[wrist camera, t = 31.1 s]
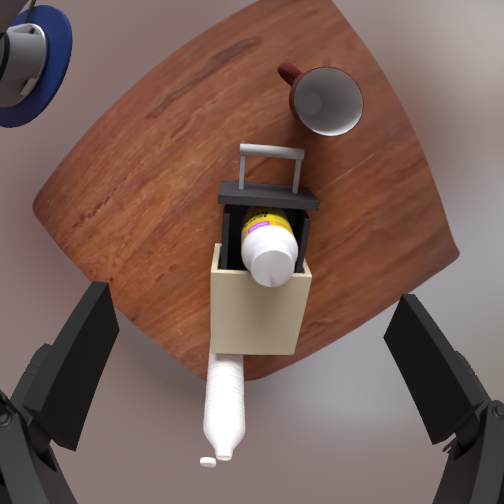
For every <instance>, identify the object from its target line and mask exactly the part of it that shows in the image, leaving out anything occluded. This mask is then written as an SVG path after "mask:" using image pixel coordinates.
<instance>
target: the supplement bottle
mask: <svg viewBox="0 0 504 504" xmlns="http://www.w3.org/2000/svg"><path fill="white" fill-rule="evenodd" d="M241 255H242V260H243V263H244V265H245V266H246V268H247V269H248V270H249V271H250V272H251V274H252V277H253V278H254V280H255V281H256V282H258V283H259V284H261V285H263V286H266V287H277V286H280V285H282V284H284V283H286V282H287V281H288V280H289V279H290V278H291V277H292V275H293V272H294V264H295V262H296V260H297V256H298V246H297V243H296V240H295V237H294V235H293V232H292V229H291V227H290V224H289V221H288V219H287V216H286V214H285V213H284V211H283V210H282V209H281V208H278V207H264V206H252V207H250V208H249V209H248V210H247V211H246V213H245V214H244V216H243V219H242V228H241Z"/></svg>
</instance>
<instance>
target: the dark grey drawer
mask: <svg viewBox="0 0 504 504" xmlns="http://www.w3.org/2000/svg"><path fill="white" fill-rule="evenodd" d="M239 154H240V155H241V161H240V175H239V182H233V181H222V182H221V186H220V190H219V194H218V204H225V206H224V212H223V231H222V257H221V270H236V271H249V270H248V269H247V268H246V266H245V265H244V263H243V260H242V255H241V228H242V219H243V216H244V214H245V213H246V211H247V210H248V209H249V208H250V207H252V206H264V207H278V208H281V209H282V210H283V211H284V213H285V214H286V216H287V219H288V221H289V224H290V227H291V229H292V232H293V235H294V237H295V240H296V243H297V246H298V256H297V260H296V262H295V264H294V272H293V273H301V272H302V267H303V262H304V256H305V251H306V245H307V240H308V234H309V228H310V222H311V219H310V217H309V216H308V214H307V212H306V211H305V210H315V211H318V210H319V204H320V202H319V200H318V199H317V198H316V197H315V195H314V194H313V193H312V192H311V191H310V189H309V188H308V187H299V186H298V183H299V176H300V168H301V160H303V159H304V150H303V149H296V148H287V147H277V146H266V145H254V144H240V153H239ZM246 155H253V156H266V157H277V158H288V159H296V165H295V173H294V181H293V186H288V185H276V184H263V183H249V182H244V173H245V160H246Z"/></svg>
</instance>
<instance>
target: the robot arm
mask: <svg viewBox="0 0 504 504" xmlns="http://www.w3.org/2000/svg"><path fill="white" fill-rule="evenodd" d="M28 1H29V0H0V107H13V106H16V105H19V104H21V103H22V102H24V101H25V100H26V99H28V98H29V97H30V96H31V94H32V93H33V92H34V91H35V89H36V88H37V87H38V85H39V83H40V81H41V80H42V78H43V75H44V73H45V71H46V68H47V64H48V60H49V55H50V41H49V36H48V34H47V32H46V30H45V29H44V28H43V27H41V26H39V25H35V24H30V23H27V21H28V19H29V16H30V14H31V11H32V9H33V7H34V4H35V2H36V0H32V2H31V4H30V6H29V9H28V11H27V13H26V16H25V18H24V21H23V23H22V24H21V25H17V26H13V27H10V25H11V24H12V22H13V21H14V19H15V18H16V17H17V15H18V14H19V13H20V11H21V10H22V9H23V7H24V6H25V5H26V3H27V2H28ZM118 333H119V327H118V323H117V319H116V315H115V311H114V307H113V303H112V298H111V294H110V289H109V285H108V283H106V282H96V281H93V282H92V283H91V285H90V287H89V288H88V289H87V291H86V292H85V294H84V295H83V297H82V298H81V300H80V301H79V303H78V304H77V306H76V308H75V309H74V310H73V312H72V314H71V315H70V317H69V318H68V320H67V322H66V324H65V325H64V327H63V328H62V330H61V332H60V333H59V335H58V336H57V338H56V340H55V342H54V343H53V345H49V344H44V345H43V346H42V347H40V348H39V349H38V350H37V351H36V352H35V354H34V356H33V357H32V359H31V361H30V364H28V366H27V368H26V372H24V373H23V375H22V377H21V379H20V381H19V383H18V384H17V387H16V389H15V390H14V392H13V394H12V396H11V398H10V400H9V399H8V398H7V397H6V395H5V394H4V393H3V392H2V391H1V390H0V504H78V503H77V501H76V500H75V498H74V496H73V494H72V492H71V490H70V488H69V486H68V484H67V482H66V480H65V478H64V476H63V473H62V471H61V469H60V467H59V464H58V462H57V460H56V458H55V455H54V452H53V450H52V448H51V446H50V445H49V444H50V441H51V439H52V440H53V441H54V442H55V443H56V444H57V445H59V446H61V447H64V448H67V449H70V450H73V451H76V448H77V445H78V441H79V438H80V435H81V431H82V429H83V426H84V422H85V419H86V416H87V413H88V410H89V407H90V405H91V402H92V399H93V396H94V393H95V391H96V388H97V385H98V383H99V380H100V377H101V375H102V372H103V369H104V367H105V364H106V362H107V359H108V357H109V354H110V352H111V349H112V347H113V345H114V342H115V340H116V338H117V335H118ZM383 338H384V340H385V342H386V344H387V346H388V348H389V350H390V352H391V354H392V356H393V358H394V360H395V362H396V364H397V366H398V368H399V370H400V372H401V374H402V376H403V378H404V380H405V382H406V384H407V387H408V389H409V391H410V393H411V395H412V397H413V400H414V402H415V404H416V406H417V409H418V411H419V413H420V416H421V418H422V420H423V422H424V425H425V427H426V430H427V432H428V434H429V437H430V439H431V442H432V444H433V445H434V444H437V443H440V442H442V441H445V440H446V439H448V438H449V437H450V436H451V435H452V434H453V433H454V432H455V434H456V437H455V438H454V439H453V440H452V441H451V442H450V443H449V444H448V445H446V446H445V447H444V449H443V452H445V451H446V450H447V449H448V448H449V447H451V449H450V450H449V451H448V452H447V453H449V456H448V460H447V463H446V466H445V470H444V473H443V476H442V479H441V482H440V485H439V487H438V490H437V493H436V496H435V498H434V501H433V503H432V504H504V404H503V403H502V402H500V401H498V400H494V401H491V399H490V398H489V396H488V394H487V392H486V391H485V389H484V388H483V386H482V384H481V382H480V381H479V379H478V377H477V376H476V375H475V372H474V371H473V369H472V368H471V366H470V365H469V363H468V361H467V360H466V359H465V357H463V356H462V355H461V354H460V353H459V352H458V351H454V349H453V348H452V346H451V345H450V343H449V342H448V340H447V339H446V337H445V336H444V334H443V333H442V332H441V330H440V329H439V327H438V326H437V324H436V323H435V322H434V320H433V319H432V317H431V316H430V315H429V313H428V312H427V310H426V309H425V308H424V306H423V305H422V304H421V302H420V301H419V300H418V298H417V297H416V296H415V295H414V294H402V296H401V298H400V301H399V303H398V305H397V308H396V310H395V312H394V315H393V317H392V319H391V322H390V324H389V326H388V328H387V331H386V333H385V335H384V337H383Z"/></svg>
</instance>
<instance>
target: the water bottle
mask: <svg viewBox="0 0 504 504" xmlns="http://www.w3.org/2000/svg"><path fill="white" fill-rule="evenodd" d="M243 374H244V371H243V354H224V353H211V341H210V352H209V361H208V374H207V385H206V402H205V415H204V424H203V429H204V434H205V436H206V438H207V439H208V440H209V442H210V443H211V445H212V446H213V447H214V448H215V450H216V451H215V454H216V458H217V459H219V460H230V459H231V458H232V455H233V452H232V451H233V449H234V448H235V447H236V446H237V445H238V443H239V442H240V441H241V440H242V438H243V437H244V434H245V412H244V376H243ZM211 459H212V460H211ZM214 460H215V459H214V458H207V457H205V458H201V459H200V464H201V465H202V466H206V467H214V466H216V460H215V461H214Z"/></svg>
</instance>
